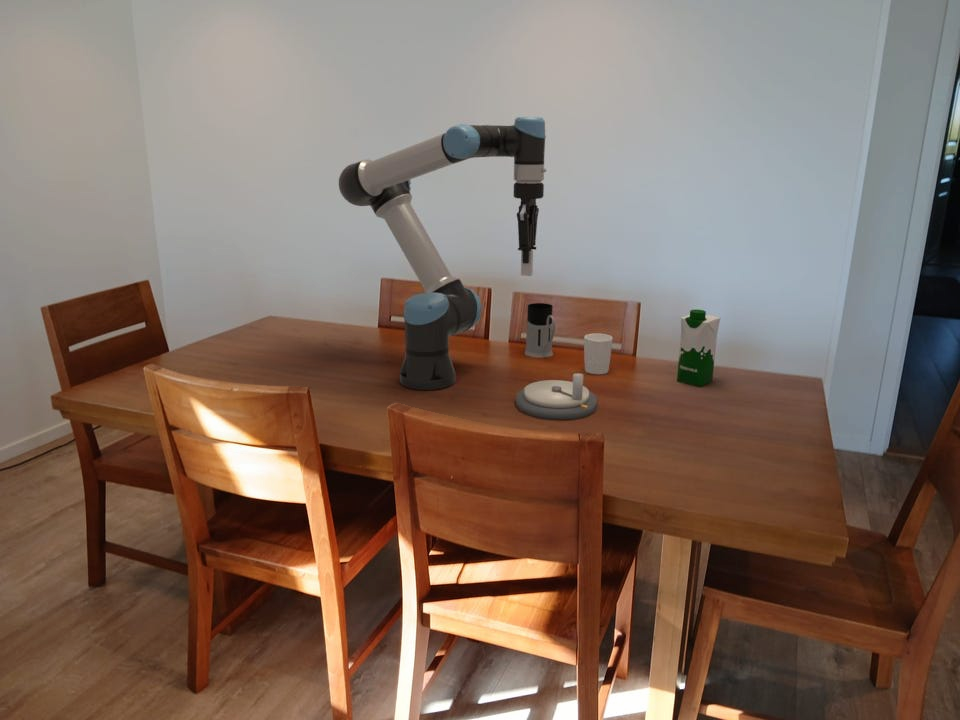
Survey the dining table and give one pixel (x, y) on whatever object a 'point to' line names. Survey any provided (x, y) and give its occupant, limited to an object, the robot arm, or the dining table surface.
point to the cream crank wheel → (557, 393)
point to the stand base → (556, 412)
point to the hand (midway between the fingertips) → (526, 275)
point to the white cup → (597, 353)
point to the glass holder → (539, 330)
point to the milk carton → (697, 348)
